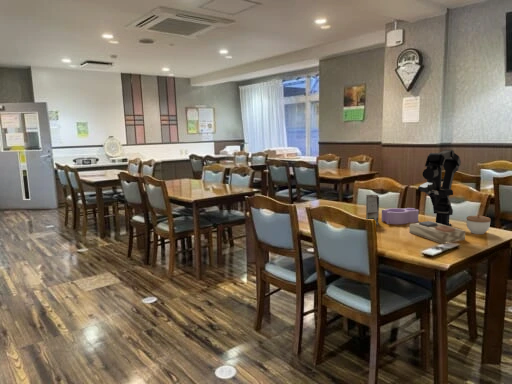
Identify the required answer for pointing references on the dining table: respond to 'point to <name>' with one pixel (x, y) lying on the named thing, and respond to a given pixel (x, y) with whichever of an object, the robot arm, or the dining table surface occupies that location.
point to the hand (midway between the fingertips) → (434, 206)
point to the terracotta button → (445, 229)
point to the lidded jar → (478, 224)
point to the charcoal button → (428, 224)
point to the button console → (437, 233)
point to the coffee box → (372, 207)
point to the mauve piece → (400, 215)
